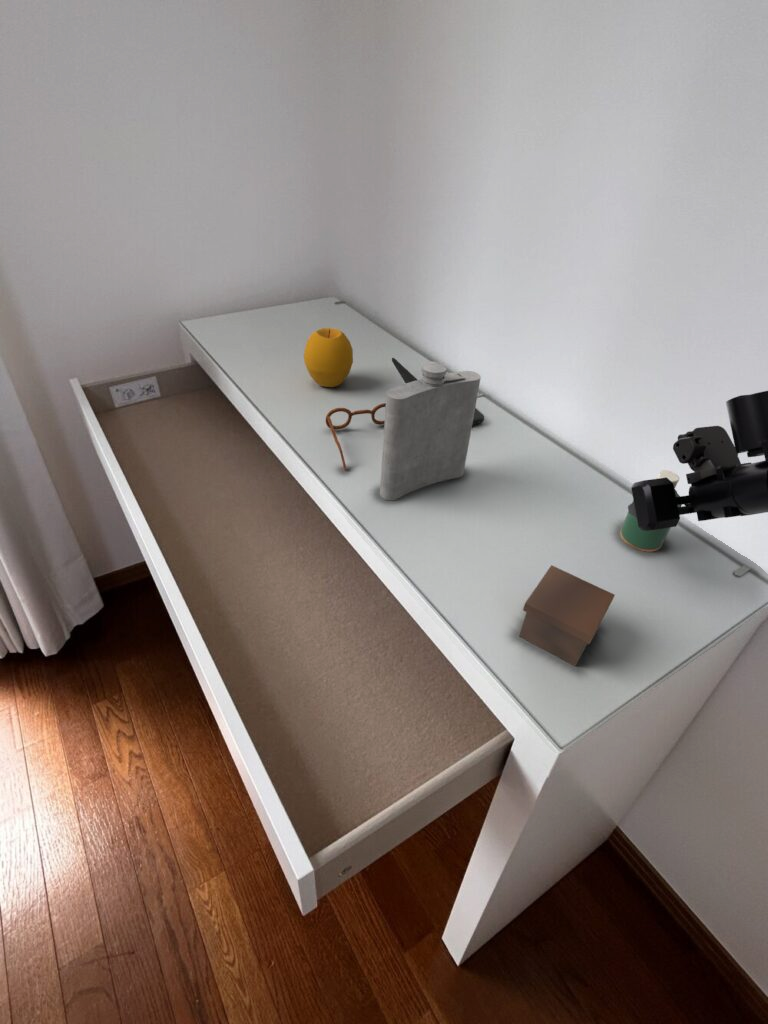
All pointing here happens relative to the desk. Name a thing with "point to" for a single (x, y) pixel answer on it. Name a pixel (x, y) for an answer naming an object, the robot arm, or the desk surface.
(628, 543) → the coaster
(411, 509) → the desk surface
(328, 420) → the glasses
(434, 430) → the hip flask
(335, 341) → the apple
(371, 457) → the desk surface
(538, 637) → the brown lidded box
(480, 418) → the game console
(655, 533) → the bottle
